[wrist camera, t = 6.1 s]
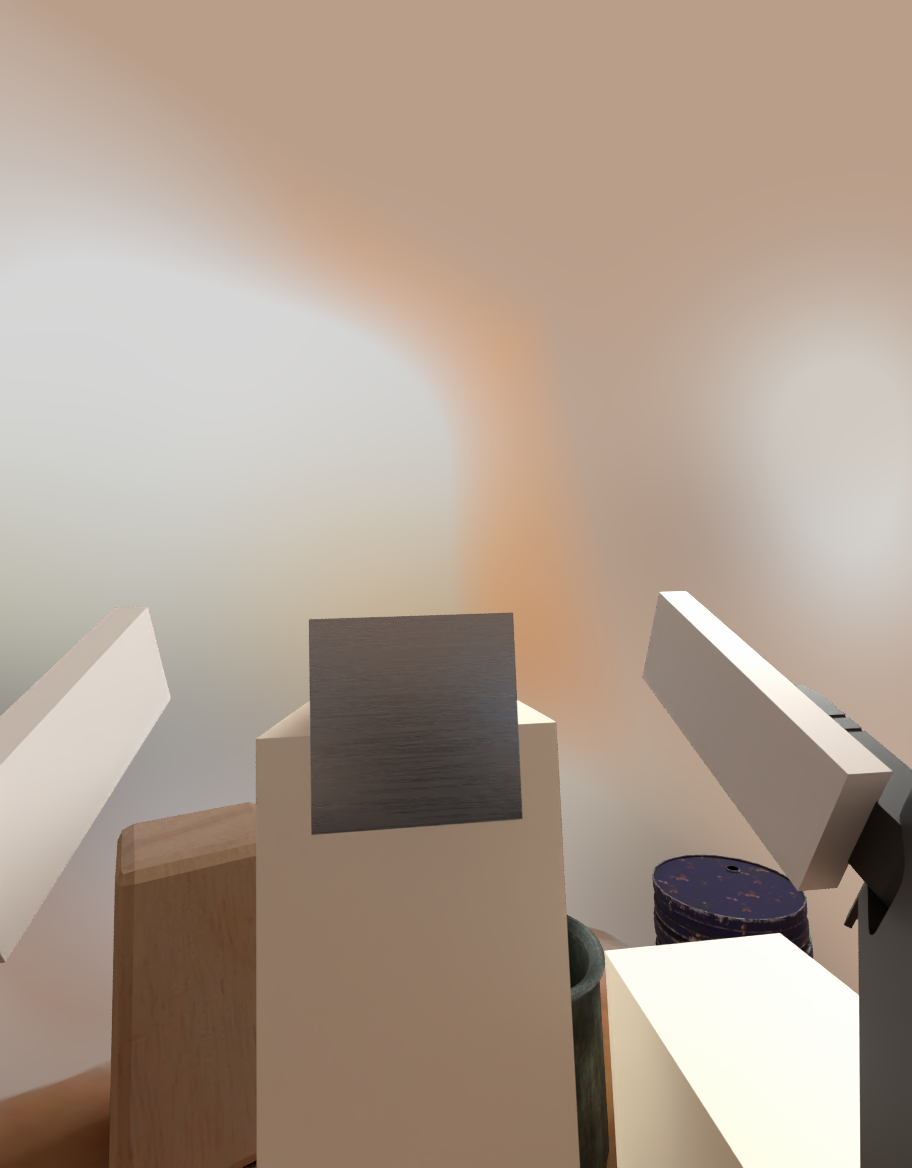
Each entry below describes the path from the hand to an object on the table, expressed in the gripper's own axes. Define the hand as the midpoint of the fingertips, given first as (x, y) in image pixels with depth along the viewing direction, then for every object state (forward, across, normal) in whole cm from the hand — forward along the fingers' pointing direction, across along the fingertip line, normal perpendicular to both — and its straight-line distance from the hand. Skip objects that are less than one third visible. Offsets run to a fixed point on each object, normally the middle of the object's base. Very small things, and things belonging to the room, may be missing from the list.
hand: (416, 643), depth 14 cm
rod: (+4, 0, -6) cm, 7 cm away
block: (+7, -15, -42) cm, 45 cm away
